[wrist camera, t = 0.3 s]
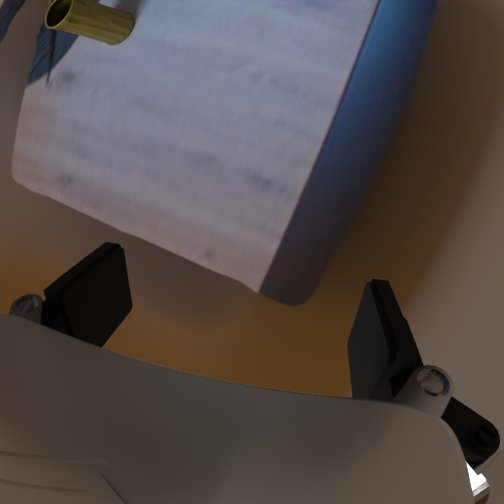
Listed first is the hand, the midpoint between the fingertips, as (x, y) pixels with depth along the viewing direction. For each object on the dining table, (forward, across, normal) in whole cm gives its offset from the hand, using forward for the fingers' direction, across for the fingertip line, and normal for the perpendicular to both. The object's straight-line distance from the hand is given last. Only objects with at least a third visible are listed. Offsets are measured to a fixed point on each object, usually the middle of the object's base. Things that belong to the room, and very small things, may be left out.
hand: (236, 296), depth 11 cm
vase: (+31, +27, -22) cm, 47 cm away
